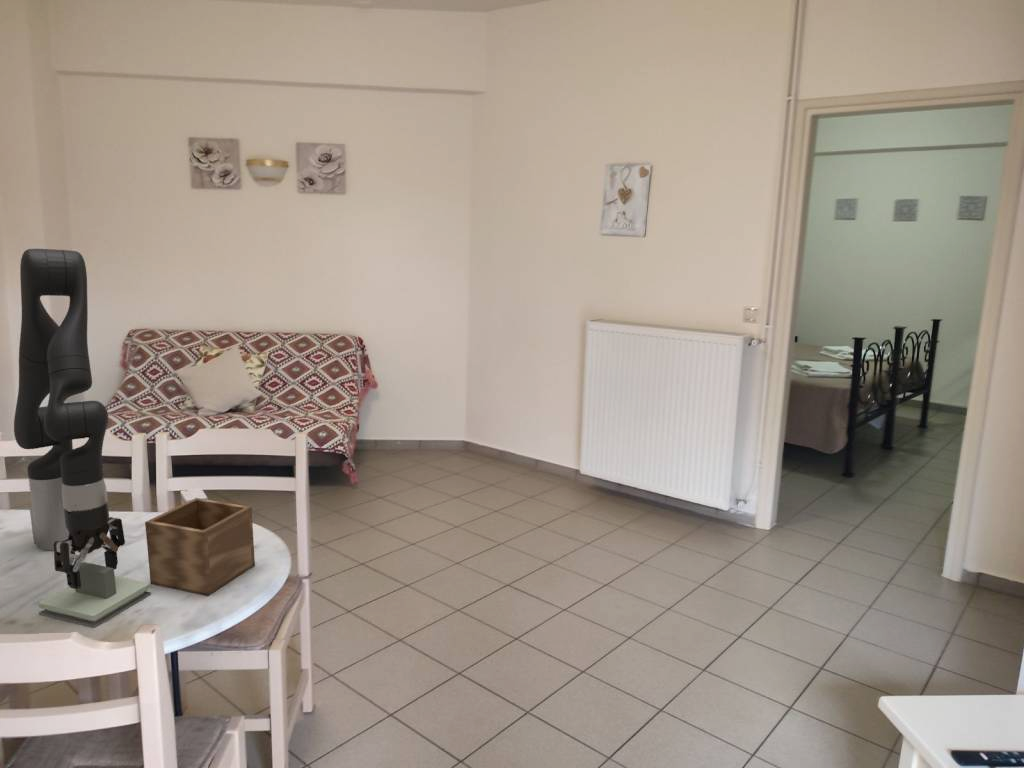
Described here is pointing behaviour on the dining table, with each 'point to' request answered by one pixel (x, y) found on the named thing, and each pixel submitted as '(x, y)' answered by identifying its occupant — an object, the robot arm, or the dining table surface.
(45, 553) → the dining table surface
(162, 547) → the box
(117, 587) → the lid
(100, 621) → the mat
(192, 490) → the ink box
